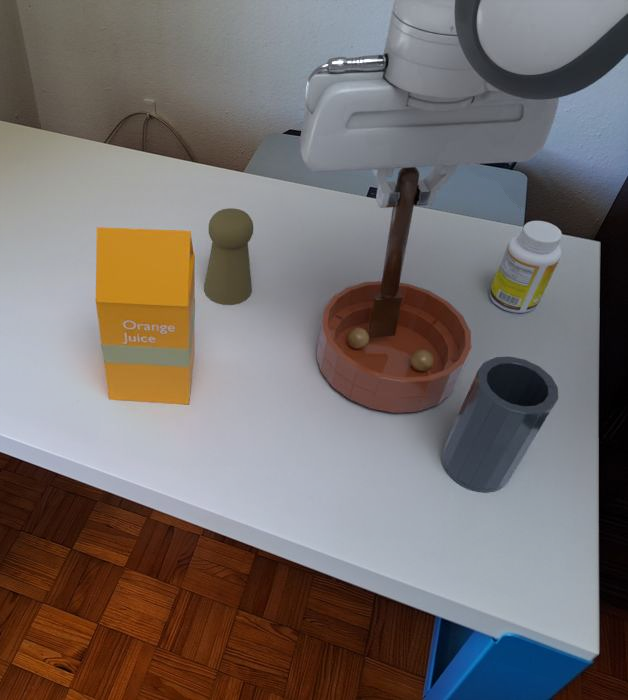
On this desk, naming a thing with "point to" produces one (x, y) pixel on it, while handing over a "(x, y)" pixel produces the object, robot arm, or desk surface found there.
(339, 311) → the bowl
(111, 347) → the orange juice
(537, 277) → the supplement bottle
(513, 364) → the crock
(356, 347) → the bead
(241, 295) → the olive game pawn
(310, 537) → the desk surface
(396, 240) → the stir paddle
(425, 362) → the bead
